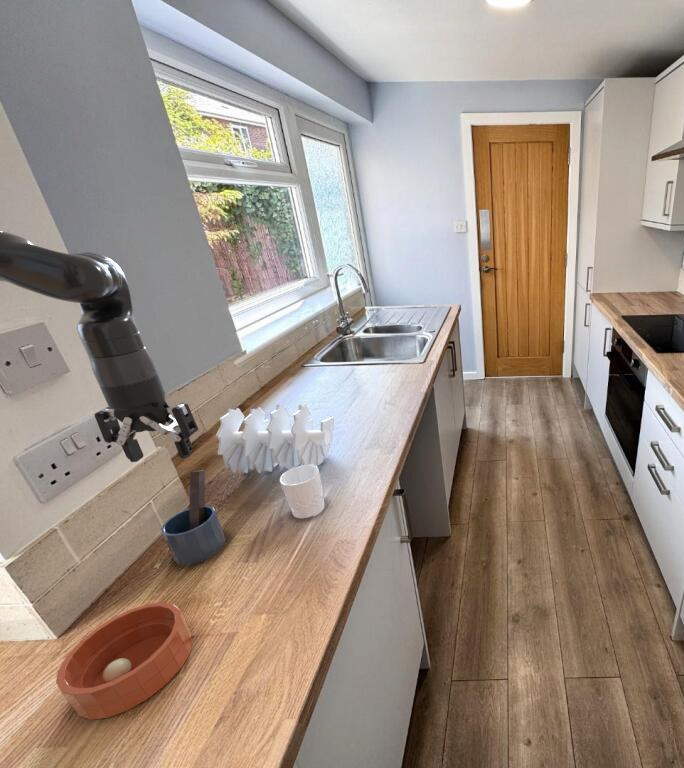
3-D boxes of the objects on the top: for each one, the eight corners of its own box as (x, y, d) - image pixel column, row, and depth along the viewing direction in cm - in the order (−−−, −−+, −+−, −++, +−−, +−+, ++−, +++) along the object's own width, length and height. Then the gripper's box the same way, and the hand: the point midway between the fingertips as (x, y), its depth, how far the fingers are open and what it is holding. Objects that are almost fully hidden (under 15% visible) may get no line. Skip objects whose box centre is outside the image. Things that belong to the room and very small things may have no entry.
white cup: (327, 516, 92) (317, 479, 88) (288, 525, 89) (277, 488, 85) (327, 495, 99) (319, 461, 95) (292, 504, 96) (281, 469, 92)
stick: (189, 552, 81) (189, 471, 83) (195, 549, 83) (196, 470, 84) (198, 551, 81) (199, 471, 83) (204, 549, 83) (205, 470, 84)
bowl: (47, 728, 54) (25, 700, 52) (125, 632, 67) (110, 607, 65) (154, 714, 56) (137, 687, 53) (212, 623, 68) (200, 598, 66)
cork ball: (100, 662, 59) (115, 662, 58) (123, 655, 61) (138, 655, 61) (94, 686, 58) (110, 687, 57) (118, 678, 60) (134, 678, 60)
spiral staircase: (328, 484, 110) (231, 486, 108) (342, 430, 121) (255, 432, 119) (306, 447, 96) (195, 449, 94) (325, 391, 108) (226, 392, 106)
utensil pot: (165, 569, 79) (149, 537, 76) (192, 536, 87) (180, 507, 84) (211, 565, 80) (198, 533, 77) (234, 533, 88) (223, 503, 85)
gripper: (187, 366, 72) (214, 444, 79) (101, 371, 71) (136, 450, 77) (157, 382, 66) (190, 466, 72) (62, 387, 64) (104, 472, 71)
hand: (162, 457), depth 75 cm, fingers open, 8 cm apart
